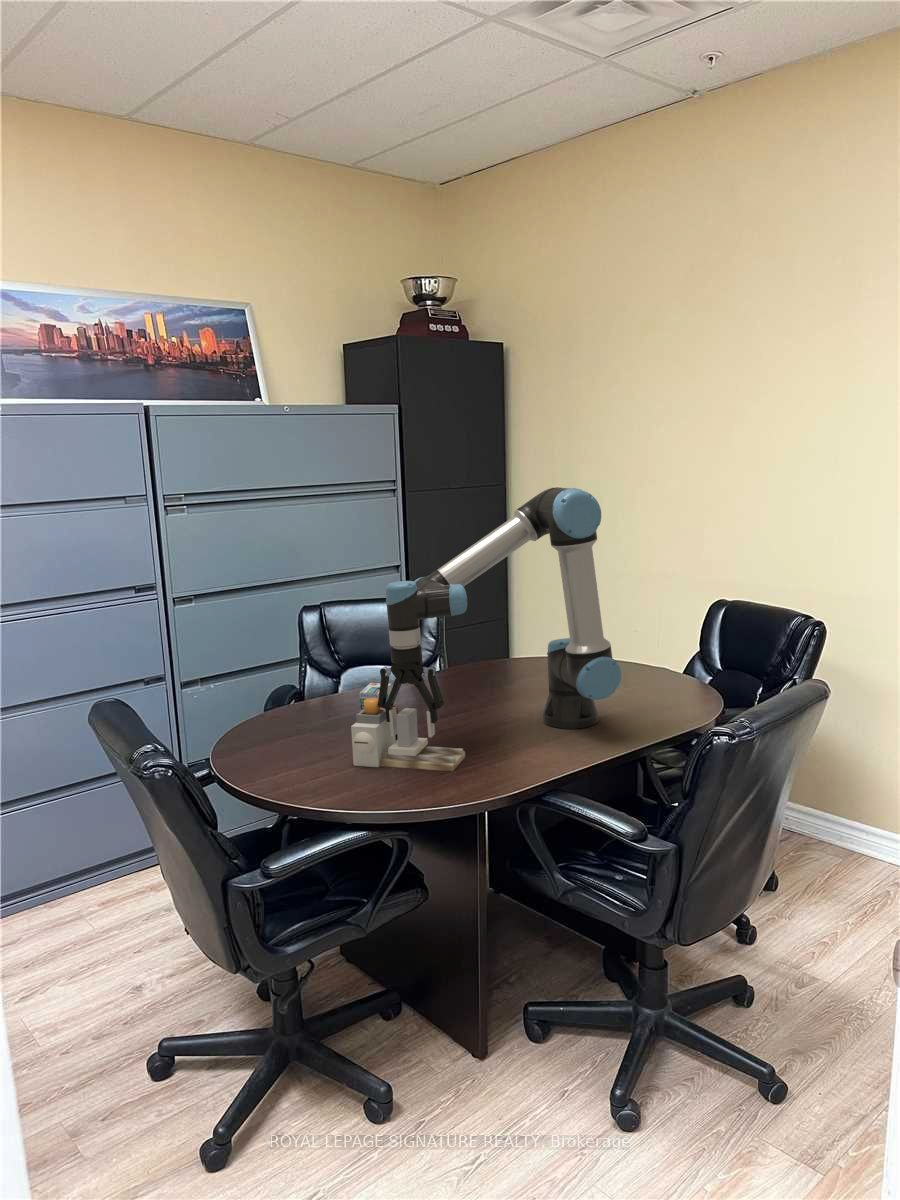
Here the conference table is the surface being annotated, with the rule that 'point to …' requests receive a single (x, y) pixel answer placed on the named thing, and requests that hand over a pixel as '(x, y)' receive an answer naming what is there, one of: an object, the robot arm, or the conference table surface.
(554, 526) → the robot arm
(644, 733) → the conference table surface
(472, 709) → the conference table surface
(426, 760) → the rail bed
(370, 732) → the cabinet
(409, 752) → the carriage
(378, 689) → the light bulb box
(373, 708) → the button
